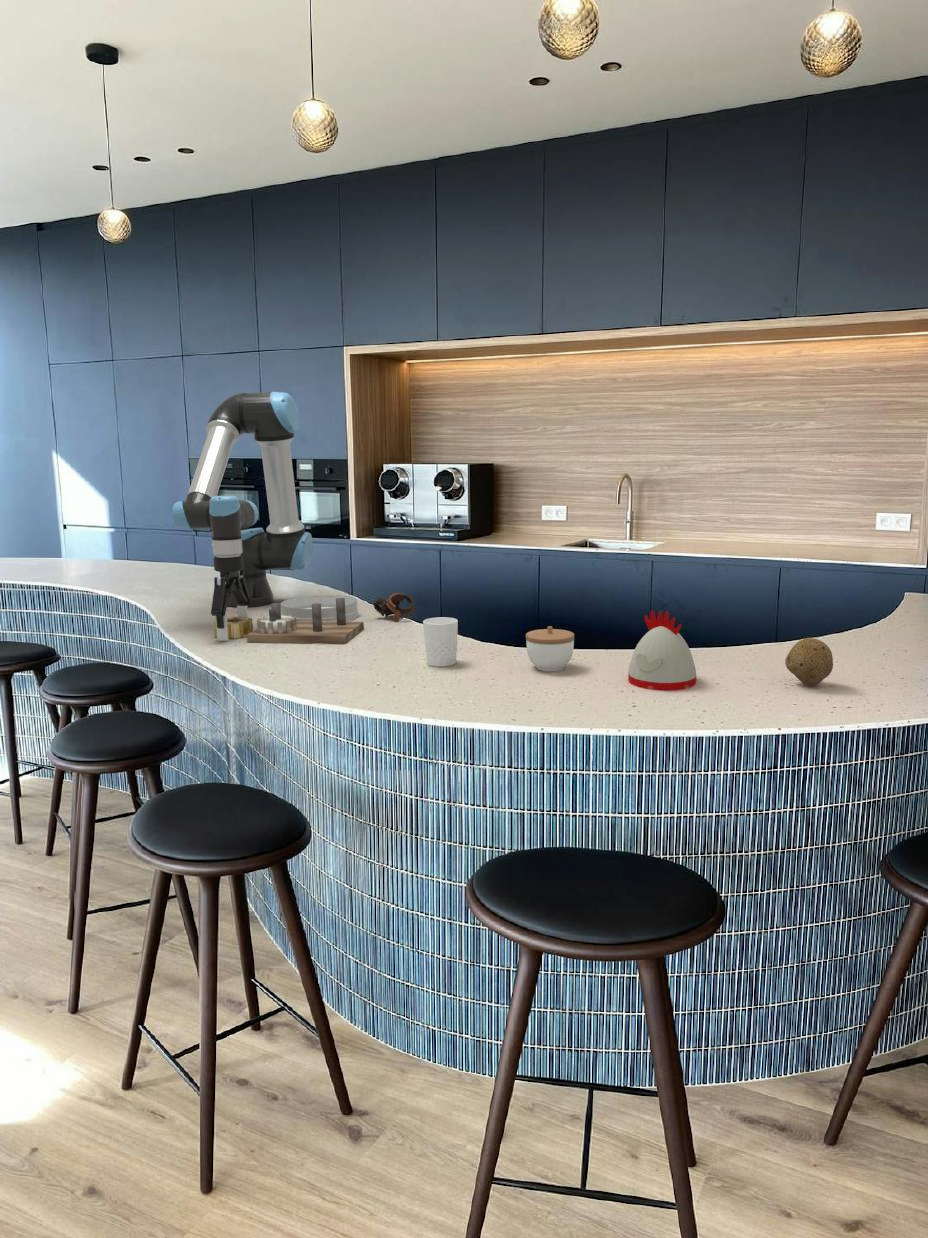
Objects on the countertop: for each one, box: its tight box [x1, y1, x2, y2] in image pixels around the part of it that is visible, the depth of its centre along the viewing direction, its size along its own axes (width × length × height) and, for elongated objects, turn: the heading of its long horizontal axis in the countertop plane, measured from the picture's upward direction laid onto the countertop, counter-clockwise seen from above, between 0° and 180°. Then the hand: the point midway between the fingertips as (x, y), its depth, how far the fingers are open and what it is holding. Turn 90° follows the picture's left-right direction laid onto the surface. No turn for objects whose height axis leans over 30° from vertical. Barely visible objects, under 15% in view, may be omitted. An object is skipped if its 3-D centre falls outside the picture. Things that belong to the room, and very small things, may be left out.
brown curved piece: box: [372, 592, 416, 623], centre depth 261 cm, size 12×10×8 cm
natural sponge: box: [784, 637, 834, 688], centre depth 186 cm, size 9×9×10 cm
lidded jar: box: [525, 625, 575, 672], centre depth 204 cm, size 11×11×9 cm
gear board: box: [246, 598, 365, 645], centre depth 242 cm, size 18×26×9 cm
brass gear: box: [212, 616, 254, 640], centre depth 245 cm, size 10×10×4 cm
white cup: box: [422, 616, 459, 668], centre depth 210 cm, size 8×8×10 cm
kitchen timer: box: [627, 610, 697, 691], centre depth 191 cm, size 14×14×15 cm
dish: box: [280, 594, 359, 621], centre depth 265 cm, size 22×22×5 cm
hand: (233, 634), depth 245 cm, fingers open, 13 cm apart
